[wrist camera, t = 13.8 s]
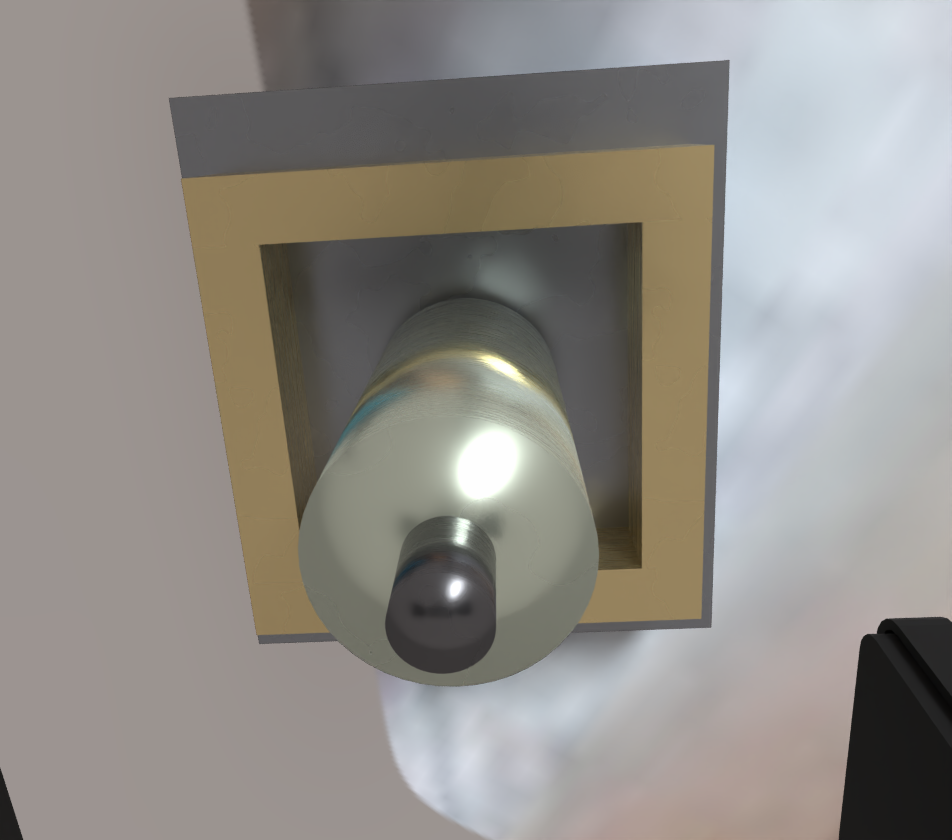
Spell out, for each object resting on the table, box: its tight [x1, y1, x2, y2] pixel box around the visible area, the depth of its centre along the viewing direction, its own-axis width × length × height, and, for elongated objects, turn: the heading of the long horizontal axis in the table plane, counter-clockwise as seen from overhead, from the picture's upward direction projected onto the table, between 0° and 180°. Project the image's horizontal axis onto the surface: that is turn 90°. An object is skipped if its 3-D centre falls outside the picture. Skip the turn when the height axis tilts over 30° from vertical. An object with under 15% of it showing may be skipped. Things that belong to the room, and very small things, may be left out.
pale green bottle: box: [298, 298, 599, 686], centre depth 18 cm, size 5×5×12 cm
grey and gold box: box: [169, 60, 729, 644], centre depth 24 cm, size 18×14×6 cm
